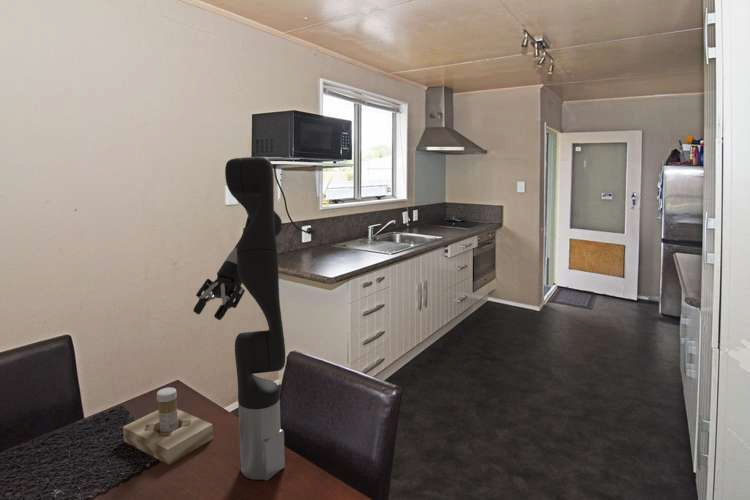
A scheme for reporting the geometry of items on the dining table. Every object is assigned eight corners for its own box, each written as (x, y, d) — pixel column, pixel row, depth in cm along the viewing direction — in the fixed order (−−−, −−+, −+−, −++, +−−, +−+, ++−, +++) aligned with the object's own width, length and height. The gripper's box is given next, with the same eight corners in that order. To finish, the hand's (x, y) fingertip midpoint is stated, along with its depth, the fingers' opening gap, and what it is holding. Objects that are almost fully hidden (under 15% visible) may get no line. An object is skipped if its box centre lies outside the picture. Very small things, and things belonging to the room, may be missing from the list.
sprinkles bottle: (176, 432, 126) (173, 385, 124) (181, 440, 122) (178, 391, 120) (158, 438, 123) (154, 390, 121) (162, 446, 120) (159, 397, 117)
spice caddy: (213, 438, 124) (212, 424, 123) (168, 464, 113) (167, 449, 112) (169, 418, 133) (168, 405, 132) (124, 441, 122) (122, 426, 121)
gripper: (212, 257, 140) (180, 304, 132) (247, 262, 132) (215, 313, 125) (227, 271, 145) (197, 317, 138) (261, 277, 138) (232, 327, 130)
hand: (206, 315), depth 131 cm, fingers open, 8 cm apart
